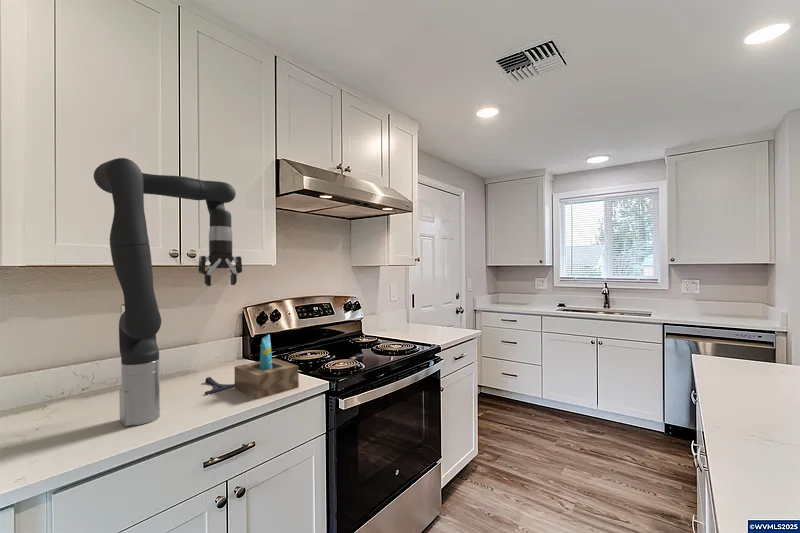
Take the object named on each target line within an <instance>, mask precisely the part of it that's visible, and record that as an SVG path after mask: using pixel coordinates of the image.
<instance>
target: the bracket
mask: <svg viewBox="0 0 800 533" xmlns="http://www.w3.org/2000/svg"><path fill="white" fill-rule="evenodd" d="M205 383H206V384H208V383H209V384H208V385H210V386H212V389H211V390H210V389H209V390H207V391H204V395H206V396H209V395H212V393H213V394H216V392H217V393H220V392H223V391H226V390H230V389H235V388H234V387H235V383H232V384H225V383H223V384H222V383H218V382H217V381H215V380H214V379H213V378H212V377H210V376H208V377H206V378H205ZM208 394H209V395H208Z"/></svg>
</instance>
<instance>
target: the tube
mask: <svg viewBox="0 0 800 533" xmlns="http://www.w3.org/2000/svg"><path fill="white" fill-rule="evenodd" d="M259 351H260V354H259V361H260V370H262V371H265V370H269V369H272V359H273V357H272V356H273V355H272V342H271V335H270V333H269V334H267V335H266V336H264V337H262V338H261V342H260V350H259Z"/></svg>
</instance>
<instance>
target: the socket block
mask: <svg viewBox="0 0 800 533" xmlns="http://www.w3.org/2000/svg"><path fill="white" fill-rule="evenodd" d="M299 375H300V374H299V365H298V364H294V363H291V362H288V361H284V360H281V359H278V358H273V357H272V369H269V370H265V371H262V370H260V360H259V361H256V362H249V363H245V364H244V363H243V364H241V365H235V366H234V384H235V388H234V389H236V390H237V391H240V392H242V393H244V394H246V395H248V396H250V395H251V396H250V397H252V396H253V397H252V398H255V399H257V400H258V399H262V397H263V398H266V397H269V396H273V395H275V394H276V393H277V394H280V393H283V392H286V391H290V390H294V389H297V388H299V386H300V385H299V382H300V381H299Z"/></svg>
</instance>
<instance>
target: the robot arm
mask: <svg viewBox="0 0 800 533" xmlns="http://www.w3.org/2000/svg"><path fill="white" fill-rule="evenodd" d="M93 180H94V182H95V184H96V185H97V186H98V188H100V189H101V190H102V191H104V192H106V193H108V194H111V197H112V201H113V202H112V203H113V211H114V212H113V219H112V221H111V222H112V223H111V228H110V233H109V248H110V254H111V255H110V256H111V261H112V265H113V268H114V271H115V274H116V277H117V280H118V282H119V285H120V287H121V290H122V294H123V300H124V301H123V303H124V311H123V312H122V314H121V315H120V317H119V321H118V340H119V342H118V345H119V354H120V363H121V364H120V365H121V374H120V376H121V388H119V422H120V423H121V424H122V425H123V426H124V427H130V426H138V425H139V426H140V425H144V424H148V423H151V422H153V421H155V420H158V419H159V418H160V416H161V415H160V414H161V413H160V412H161V407H160V406H161V405H160V401H161V400H160V396H161V395H160V349H159V347H158V343H157V333H158V332H159V331H160V329H161V327H162V317H161V312H160V310H159V306H158V302H157V298H156V295H155V294H156V293H155V289H154V273H153V264H152V255H151V248H150V246H151V245H150V240H149V236H148V227H147V221H146V214H145V204H144V203H145V202H144V201H145V200H144V195H156V196H157V195H158V196H165V197H172V198H178V199H184V200H191V201H205V203H206V207H207V211H208V214H209V231H208V252H209V254H208V256H205V255H199V257H198V273H199V274H202V275H204V284H205V285H206V287H211V286H212V275H211V274H212V272H213V271H214V270H216V269H227V270H228V271H229V273H230V285H231V286H236V284H237V282H238V278H237V277H238V276H237V275H238V274H240V273H242V272H243V264H242V263H243V262H242V256H233V231H232V230H233V229H232V214H231V212H230V211H228V210H226V207H225V204H228V203H232V201H234V200H235V198H236V196H237V195H236V194H237V192H236V190H235V188H234V187H233V186H232V184H229V183H227V182H225V181H216V180H215V181H214V180H202V179H198V178H193V177H188V176H180V175H169V174H168V175H165V174H153V173H152V174H151V173H144V172H142V170H141V169H140V167H139V166H138V164H137V163H136V162H134V161H133V160H131V159H129V158H125V157H118V158H114V159H110V160H109V161H106V162H103V163H100V164H99V165H98V166H97V167H96V169H95V170H94V173H93ZM207 262H209V265H208V266H207V268H206V263H207ZM232 262H233V263H235V264H234V265H235V266H234V265H233V264H232Z"/></svg>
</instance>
